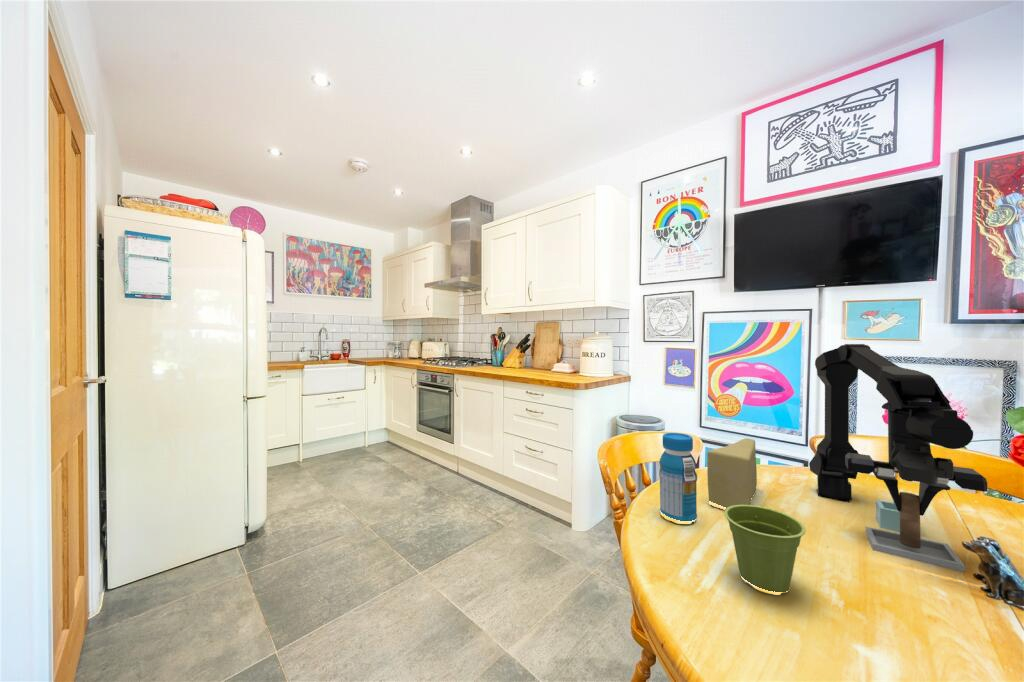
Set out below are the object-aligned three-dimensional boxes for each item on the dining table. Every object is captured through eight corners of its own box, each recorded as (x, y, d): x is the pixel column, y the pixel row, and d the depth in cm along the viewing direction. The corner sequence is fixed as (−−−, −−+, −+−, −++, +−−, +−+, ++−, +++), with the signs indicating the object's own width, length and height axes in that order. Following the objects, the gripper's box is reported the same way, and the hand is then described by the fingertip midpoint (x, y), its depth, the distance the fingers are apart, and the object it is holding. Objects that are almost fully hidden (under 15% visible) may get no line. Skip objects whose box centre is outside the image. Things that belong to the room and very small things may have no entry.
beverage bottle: (659, 522, 87) (658, 438, 87) (659, 507, 94) (658, 430, 95) (699, 529, 83) (698, 441, 84) (695, 513, 91) (695, 433, 91)
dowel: (901, 545, 73) (901, 495, 73) (898, 539, 75) (897, 490, 76) (922, 550, 72) (921, 498, 72) (918, 543, 74) (917, 494, 74)
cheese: (734, 484, 110) (733, 434, 111) (773, 493, 103) (772, 440, 103) (706, 506, 96) (705, 448, 96) (749, 518, 88) (748, 456, 89)
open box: (880, 530, 82) (880, 508, 82) (875, 520, 87) (875, 499, 87) (919, 538, 79) (919, 515, 79) (912, 527, 84) (912, 505, 84)
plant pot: (712, 562, 71) (711, 504, 71) (774, 563, 70) (774, 504, 70) (750, 606, 59) (749, 536, 59) (825, 607, 58) (824, 537, 58)
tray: (872, 552, 74) (872, 543, 74) (865, 534, 81) (865, 526, 81) (965, 575, 66) (964, 565, 66) (947, 553, 73) (947, 544, 73)
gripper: (850, 436, 73) (852, 514, 73) (1000, 453, 62) (1002, 545, 62) (844, 426, 82) (845, 496, 82) (974, 439, 71) (975, 520, 70)
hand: (909, 512), depth 74 cm, fingers closed on dowel, 3 cm apart
